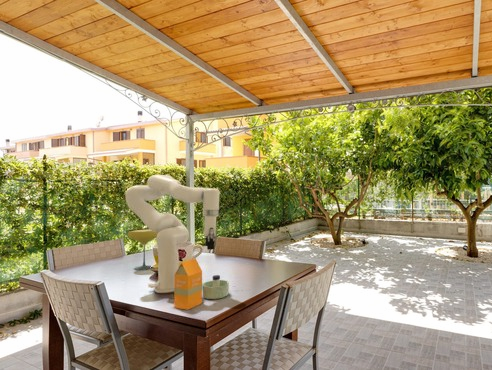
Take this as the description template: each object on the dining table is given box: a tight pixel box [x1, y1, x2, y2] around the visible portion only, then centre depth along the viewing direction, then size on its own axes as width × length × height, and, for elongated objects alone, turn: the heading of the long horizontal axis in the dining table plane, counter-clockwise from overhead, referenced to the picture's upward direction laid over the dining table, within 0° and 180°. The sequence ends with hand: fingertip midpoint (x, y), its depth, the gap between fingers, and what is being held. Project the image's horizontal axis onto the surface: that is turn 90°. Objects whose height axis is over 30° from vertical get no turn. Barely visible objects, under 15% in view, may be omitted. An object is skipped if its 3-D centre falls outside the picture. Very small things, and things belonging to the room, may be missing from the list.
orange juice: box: [173, 258, 203, 311], centre depth 142 cm, size 8×9×20 cm
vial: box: [212, 274, 221, 287], centre depth 155 cm, size 3×3×9 cm
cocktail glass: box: [127, 227, 159, 271], centre depth 208 cm, size 18×18×25 cm
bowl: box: [202, 279, 230, 300], centre depth 155 cm, size 12×12×6 cm
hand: (209, 247), depth 158 cm, fingers open, 9 cm apart
